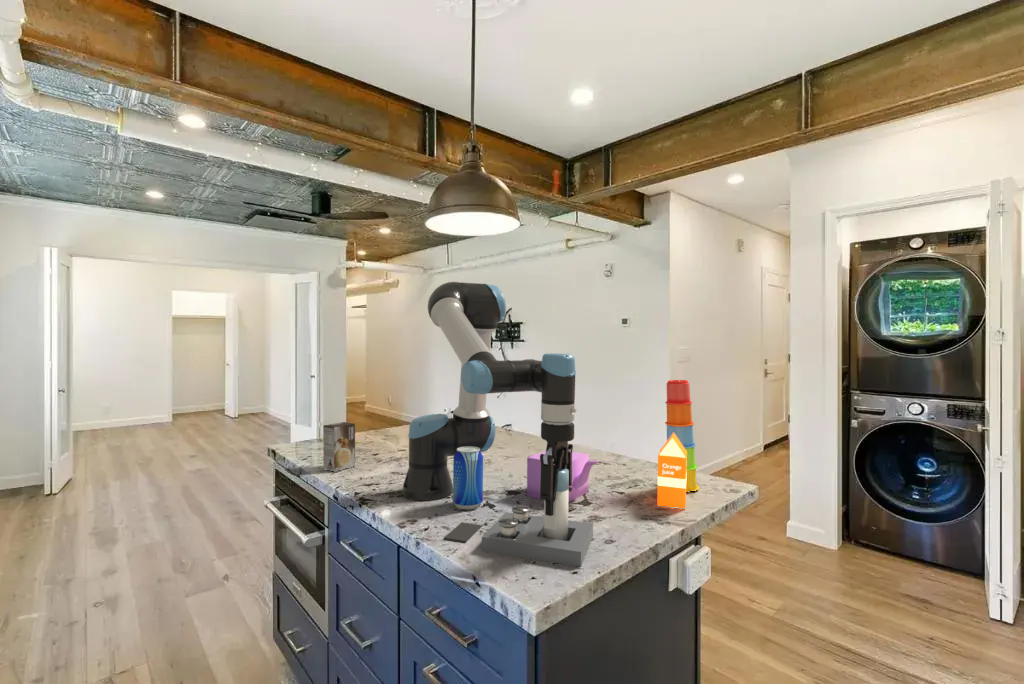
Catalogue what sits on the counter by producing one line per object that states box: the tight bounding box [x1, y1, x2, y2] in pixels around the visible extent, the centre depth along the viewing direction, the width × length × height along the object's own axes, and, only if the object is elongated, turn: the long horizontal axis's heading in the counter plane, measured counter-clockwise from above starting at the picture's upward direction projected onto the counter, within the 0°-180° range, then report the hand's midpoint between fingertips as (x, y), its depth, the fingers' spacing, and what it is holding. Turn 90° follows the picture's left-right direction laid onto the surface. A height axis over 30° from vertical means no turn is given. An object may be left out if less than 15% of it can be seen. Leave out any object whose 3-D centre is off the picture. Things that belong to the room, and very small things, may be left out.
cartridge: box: [543, 468, 569, 541], centre depth 107 cm, size 5×5×16 cm
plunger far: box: [511, 504, 530, 524], centre depth 114 cm, size 4×4×4 cm
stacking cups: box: [664, 379, 700, 493], centre depth 151 cm, size 10×10×35 cm
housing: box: [481, 511, 594, 568], centre depth 108 cm, size 22×16×4 cm
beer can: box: [452, 446, 484, 510], centre depth 134 cm, size 8×8×16 cm
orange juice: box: [656, 432, 687, 509], centre depth 137 cm, size 8×9×20 cm
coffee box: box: [322, 421, 356, 472], centre depth 170 cm, size 9×6×16 cm
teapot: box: [526, 450, 600, 504], centre depth 144 cm, size 15×25×14 cm, turn 54°
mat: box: [443, 521, 484, 544], centre depth 114 cm, size 10×10×1 cm
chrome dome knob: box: [499, 518, 518, 539], centre depth 106 cm, size 4×4×4 cm
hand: (556, 523), depth 107 cm, fingers closed on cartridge, 5 cm apart
